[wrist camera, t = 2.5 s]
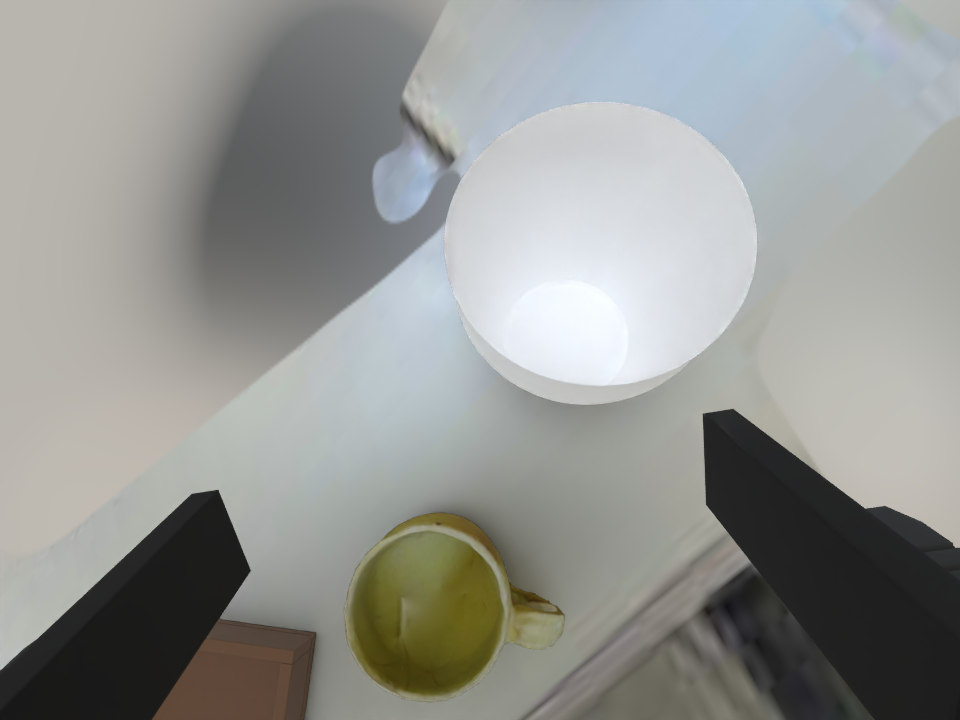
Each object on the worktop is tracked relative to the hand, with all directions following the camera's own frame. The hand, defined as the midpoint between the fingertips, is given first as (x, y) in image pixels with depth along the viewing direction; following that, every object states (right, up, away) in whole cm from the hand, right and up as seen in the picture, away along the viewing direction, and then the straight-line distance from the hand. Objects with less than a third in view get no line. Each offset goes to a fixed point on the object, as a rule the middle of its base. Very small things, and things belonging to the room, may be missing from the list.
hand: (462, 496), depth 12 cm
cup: (+7, +5, +23) cm, 24 cm away
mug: (0, -12, +20) cm, 23 cm away
